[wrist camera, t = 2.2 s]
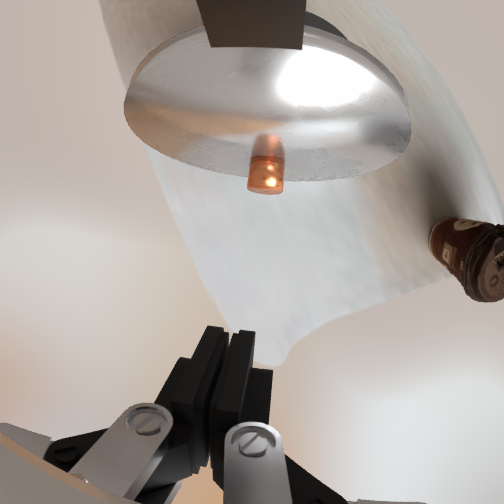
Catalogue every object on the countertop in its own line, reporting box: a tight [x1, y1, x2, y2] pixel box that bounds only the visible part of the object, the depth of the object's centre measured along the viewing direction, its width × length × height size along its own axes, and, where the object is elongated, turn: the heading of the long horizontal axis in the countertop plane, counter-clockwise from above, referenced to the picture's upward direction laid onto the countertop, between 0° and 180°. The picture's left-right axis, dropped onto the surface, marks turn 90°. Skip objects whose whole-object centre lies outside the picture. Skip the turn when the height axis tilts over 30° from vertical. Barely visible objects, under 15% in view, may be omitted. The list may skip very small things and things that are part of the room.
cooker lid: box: [124, 0, 411, 195], centre depth 13 cm, size 22×16×3 cm
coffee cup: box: [429, 217, 504, 302], centre depth 27 cm, size 9×8×13 cm
